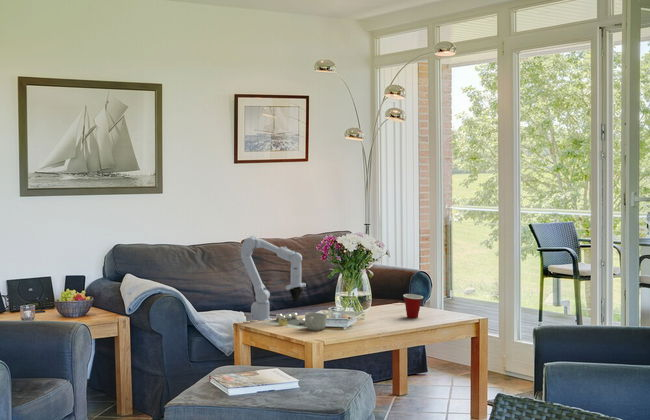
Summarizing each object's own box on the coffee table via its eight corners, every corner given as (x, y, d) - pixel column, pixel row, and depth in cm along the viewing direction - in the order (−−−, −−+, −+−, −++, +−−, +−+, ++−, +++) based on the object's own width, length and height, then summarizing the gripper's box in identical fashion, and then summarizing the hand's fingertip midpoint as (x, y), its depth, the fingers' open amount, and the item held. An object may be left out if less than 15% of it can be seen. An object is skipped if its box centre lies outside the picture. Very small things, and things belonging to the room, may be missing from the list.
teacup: (311, 326, 430) (311, 311, 430) (330, 329, 425) (330, 313, 425) (297, 331, 418) (297, 315, 418) (317, 334, 413) (317, 317, 413)
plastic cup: (416, 320, 453) (416, 297, 453) (398, 317, 460) (399, 295, 459) (426, 317, 462) (427, 295, 461) (409, 314, 469) (409, 293, 468)
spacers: (272, 320, 444) (272, 314, 444) (287, 317, 454) (287, 311, 454) (308, 326, 430) (308, 320, 429) (323, 322, 440) (324, 316, 440)
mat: (261, 323, 437) (261, 322, 437) (286, 318, 453) (286, 317, 453) (298, 329, 423) (298, 328, 423) (322, 323, 439) (322, 323, 439)
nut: (276, 325, 431) (276, 319, 431) (280, 323, 435) (280, 317, 435) (285, 326, 429) (285, 320, 429) (289, 324, 433) (289, 318, 433)
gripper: (293, 278, 437) (293, 304, 438) (310, 275, 449) (310, 301, 450) (282, 276, 441) (282, 302, 442) (300, 274, 453) (299, 299, 454)
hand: (295, 301), depth 446 cm, fingers closed
